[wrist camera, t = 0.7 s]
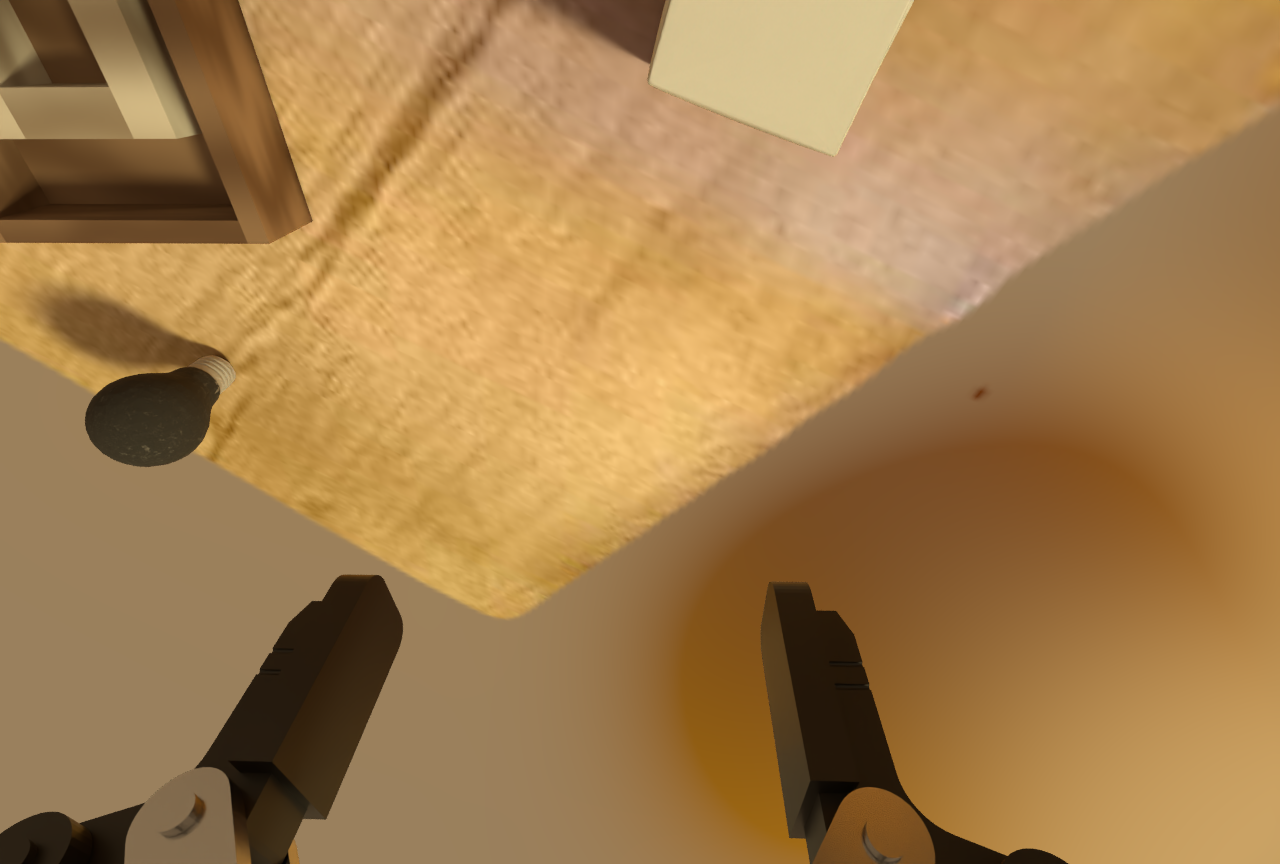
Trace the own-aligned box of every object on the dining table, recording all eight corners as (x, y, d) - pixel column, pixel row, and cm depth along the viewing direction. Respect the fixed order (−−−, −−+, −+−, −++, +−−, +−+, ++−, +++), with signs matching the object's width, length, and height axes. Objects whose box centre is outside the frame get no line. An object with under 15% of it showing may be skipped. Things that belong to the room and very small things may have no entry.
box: (-245, -289, 23) (-421, -352, 19) (136, -300, 22) (31, -367, 18) (58, 220, 34) (-15, 242, 31) (312, 221, 34) (269, 243, 30)
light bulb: (249, 331, 38) (136, 411, 30) (277, 400, 41) (182, 488, 33) (168, 326, 38) (33, 405, 30) (202, 395, 41) (89, 483, 33)
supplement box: (646, 66, 29) (636, 83, 18) (702, -124, 24) (730, -242, 14) (776, 120, 30) (835, 165, 19) (851, -53, 26) (976, -113, 15)
